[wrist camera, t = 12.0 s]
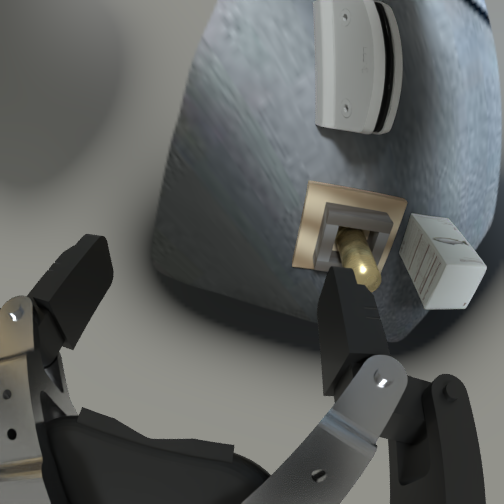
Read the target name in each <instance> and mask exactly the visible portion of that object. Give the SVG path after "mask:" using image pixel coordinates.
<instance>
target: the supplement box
mask: <svg viewBox="0 0 504 504" xmlns="http://www.w3.org/2000/svg"><path fill="white" fill-rule="evenodd" d="M399 254H400V256H401V258H402V260H403V262H404V265H405V267H406V269H407V271H408V273H409V275H410V277H411V279H412V281H413V284H414V286H415V288H416V290H417V292H418V294H419V297H420V299H421V301H422V304H423V306H424V309H465V308H466V306H467V305H468V303H469V302H470V300H471V298H472V296H473V295H474V293H475V291H476V289H477V287H478V285H479V283H480V281H481V279H482V277H483V275H484V273H485V271H486V269H487V266H486V265H485V264H484V262H483V261H482V260H481V258H480V257H479V256H478V254H477V253H476V252H475V250H474V249H473V248H472V246H471V245H470V244H469V243H468V241H467V240H466V239H465V238H464V236H463V235H462V234H461V233H460V231H459V230H458V229H457V228H456V227H455V225H454V224H453V223H452V222H451V221H450V220H449V219H448V218H440V217H433V216H426V215H420V214H414V213H411V215H410V218H409V221H408V225H407V228H406V231H405V235H404V238H403V241H402V244H401V247H400V250H399Z"/></svg>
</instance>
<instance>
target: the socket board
mask: <svg viewBox="0 0 504 504" xmlns="http://www.w3.org/2000/svg"><path fill="white" fill-rule="evenodd" d="M406 205H407V201H406V200H405V199H404V198H399V197H395V196H390V195H385V194H381V193H376V192H371V191H366V190H361V189H355V188H350V187H344V186H339V185H333V184H327V183H321V182H315V181H308V186H307V192H306V197H305V202H304V207H303V212H302V217H301V222H300V227H299V232H298V237H297V241H296V246H295V251H294V255H293V260H292V266H293V267H301V268H309V269H314V270H319V271H327V272H328V270H329V268H330V267H331V266H336V267H343V265H342V261H341V258H340V254H339V250H338V248H337V246H336V242H335V238H336V235H337V231H338V227H339V226H344V227H350V228H356V229H363V231H364V234H365V237H366V240H367V242H368V245H369V247H370V250H371V252H372V254H373V257H374V259H375V262H376V264H377V267H378V269H379V272H380V273H381V271H382V269H383V266H384V264H385V261H386V259H387V257H388V254H389V252H390V249H391V247H392V244H393V241H394V239H395V236H396V233H397V231H398V228H399V225H400V223H401V220H402V217H403V214H404V211H405V208H406Z"/></svg>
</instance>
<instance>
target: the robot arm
mask: <svg viewBox="0 0 504 504" xmlns="http://www.w3.org/2000/svg"><path fill="white" fill-rule="evenodd" d="M112 280H113V267H112V262H111V258H110V253H109V249H108V243H107V240H106V238H105V237H104V236H98V235H91V234H85V235H84V236H83V237H82V238H81V239H80V240H79V241H78V243H77V244H76V245H75V246H72V247H71V248H69V249H68V250H66V251H65V252H63V253H62V254H61V255H60V256H59V258H58V259H57V260H56V261H55V263H53V264H52V266H51V267H50V268H49V271H47V272H46V273H45V274H44V275H43V277H42V278H41V279H40V281H38V283H37V284H36V285H35V287H34V288H33V289H32V290H31V292H30V293H29V294H28V295H27V296H16V297H13V298H11V299H10V300H9V301H7V302H6V303H5V304H4V305H3V306H2V308H0V504H340V503H341V501H342V500H343V499H344V497H345V496H346V495H347V494H348V492H349V491H350V489H351V488H352V487H353V485H354V484H355V483H356V481H357V480H358V478H359V477H360V476H361V474H362V473H363V471H364V470H365V468H366V467H367V465H368V464H369V462H370V461H371V459H372V458H373V456H374V454H375V452H376V449H377V445H376V441H377V439H378V438H379V437H382V438H386V439H388V444H389V461H390V462H389V463H390V504H486V501H485V487H484V477H483V469H482V461H481V455H480V449H479V443H478V437H477V432H476V427H475V422H474V418H473V414H472V409H471V405H470V401H469V397H468V394H467V390H466V388H465V386H464V384H463V383H462V382H461V381H460V380H459V379H458V378H457V377H455V376H453V375H450V374H442V375H439V376H438V377H437V378H436V379H435V380H434V381H433V382H432V383H431V382H427V381H424V380H420V379H417V378H413V377H411V376H408V375H407V373H406V371H405V369H404V367H403V366H402V365H401V364H400V363H399V362H398V361H397V360H396V359H394V358H392V357H391V355H390V352H389V348H388V344H387V340H386V337H385V333H384V329H383V326H382V322H381V320H380V316H379V312H378V310H377V306H376V302H375V299H374V296H373V295H372V293H371V292H370V291H369V290H368V288H367V287H366V286H365V285H362V284H357V281H356V277H355V274H354V271H353V269H352V268H344V267H336V266H331V267H330V268H329V270H328V273H327V276H326V280H325V283H324V286H323V289H322V292H321V295H320V298H319V302H318V308H317V319H318V329H319V340H320V352H321V364H322V379H323V394H324V396H334V399H335V404H334V406H333V407H332V408H331V409H330V411H329V412H328V413H327V414H326V415H325V416H324V418H323V419H322V420H321V421H320V422H319V424H318V425H317V426H316V427H315V429H314V430H313V431H312V432H311V433H310V434H309V436H308V437H307V438H306V439H305V440H304V441H303V443H301V445H300V446H299V447H298V448H297V449H296V450H295V451H294V452H293V453H292V454H291V456H290V457H289V458H288V459H287V460H286V461H285V462H284V463H283V464H282V465H281V466H280V467H279V468H278V469H277V470H276V471H275V472H274V473H273V474H272V475H270V474H269V473H268V472H267V471H266V470H265V469H263V468H262V467H261V466H260V465H258V464H256V463H255V462H253V461H252V460H250V459H247V458H245V457H243V456H241V455H238V454H236V453H233V452H234V445H229V444H222V443H215V442H209V441H203V440H198V439H150V438H147V437H145V436H143V435H141V434H139V433H138V432H136V431H134V430H133V429H131V428H129V427H128V426H126V425H124V424H123V423H121V422H119V421H118V420H116V419H114V418H111V417H108V416H105V415H102V414H99V413H96V412H94V411H91V410H89V409H86V408H83V407H82V410H81V412H80V414H79V415H78V414H77V412H76V410H75V408H74V406H73V405H72V402H71V400H70V397H69V393H68V388H67V384H66V379H65V374H64V369H63V363H62V357H61V354H60V352H59V350H60V349H61V347H62V346H63V347H66V348H69V349H72V350H73V349H74V347H75V346H76V343H77V342H78V340H79V338H80V337H81V335H82V333H83V331H84V329H85V327H86V326H87V324H88V322H89V321H90V319H91V317H92V315H93V314H94V312H95V310H96V309H97V307H98V305H99V303H100V302H101V300H102V299H103V297H104V295H105V294H106V292H107V290H108V289H109V287H110V286H111V283H112Z"/></svg>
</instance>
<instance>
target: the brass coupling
mask: <svg viewBox="0 0 504 504" xmlns="http://www.w3.org/2000/svg"><path fill="white" fill-rule="evenodd" d="M335 242H336V246H337V248H338V250H339V254H340V258H341V261H342V265H343V267H344V268H352V269H353V271H354V274H355V277H356V281H357V284H362V285H365V286H366V287H367V288H368V290H369V291H370V292H371V293H372V292H374V291H375V290H376V289H377V288H378V287H379V285H380V283H381V274H380V272H379V269H378V267H377V264H376V262H375V259H374V257H373V254H372V252H371V250H370V247H369V245H368V242H367V240H366V237H365V234H364V231H363V229H356V228H350V227H344V226H339V227H338V231H337V235H336V238H335Z"/></svg>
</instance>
